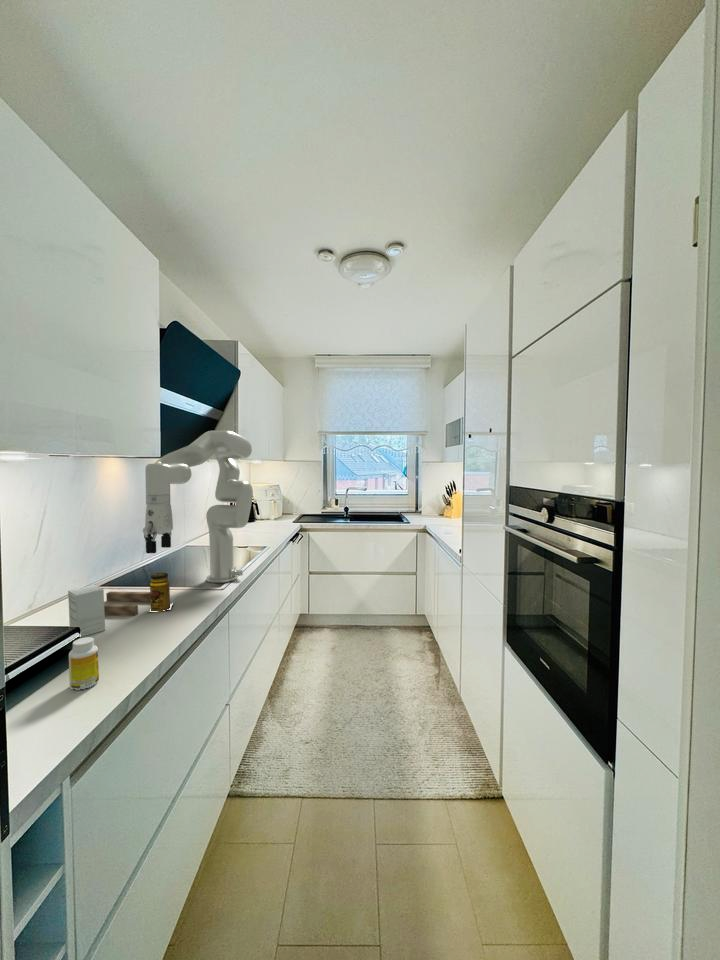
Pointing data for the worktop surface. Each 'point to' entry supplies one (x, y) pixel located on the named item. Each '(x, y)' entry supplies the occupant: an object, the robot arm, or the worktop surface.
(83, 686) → the supplement bottle
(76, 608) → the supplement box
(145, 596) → the channel
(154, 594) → the yellow and black cylinder
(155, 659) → the worktop surface
